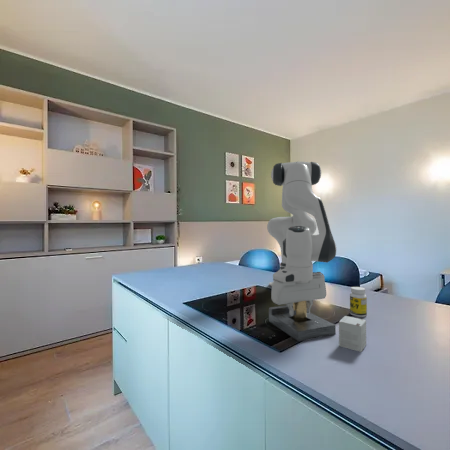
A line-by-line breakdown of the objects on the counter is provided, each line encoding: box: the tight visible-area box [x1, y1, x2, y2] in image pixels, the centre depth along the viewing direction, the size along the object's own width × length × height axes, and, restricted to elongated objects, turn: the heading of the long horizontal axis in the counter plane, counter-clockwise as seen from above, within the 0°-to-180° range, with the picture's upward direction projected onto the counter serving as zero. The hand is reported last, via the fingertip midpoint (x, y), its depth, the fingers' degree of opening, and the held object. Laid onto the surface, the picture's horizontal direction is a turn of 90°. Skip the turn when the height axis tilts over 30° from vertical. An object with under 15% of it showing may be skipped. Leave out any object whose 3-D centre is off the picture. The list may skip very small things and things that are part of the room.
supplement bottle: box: [349, 286, 368, 318], centre depth 103 cm, size 6×6×10 cm
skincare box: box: [338, 315, 367, 353], centre depth 78 cm, size 6×6×7 cm
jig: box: [268, 304, 337, 342], centre depth 92 cm, size 18×14×5 cm
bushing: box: [293, 301, 307, 322], centre depth 92 cm, size 4×4×8 cm
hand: (299, 314), depth 92 cm, fingers closed on bushing, 4 cm apart
